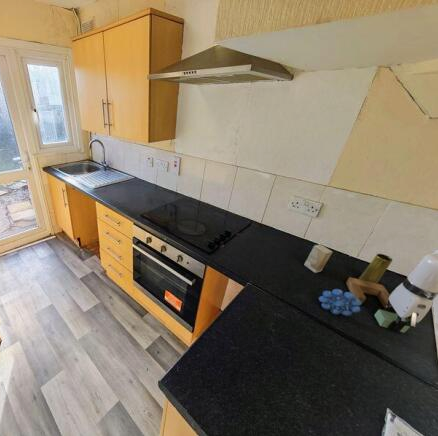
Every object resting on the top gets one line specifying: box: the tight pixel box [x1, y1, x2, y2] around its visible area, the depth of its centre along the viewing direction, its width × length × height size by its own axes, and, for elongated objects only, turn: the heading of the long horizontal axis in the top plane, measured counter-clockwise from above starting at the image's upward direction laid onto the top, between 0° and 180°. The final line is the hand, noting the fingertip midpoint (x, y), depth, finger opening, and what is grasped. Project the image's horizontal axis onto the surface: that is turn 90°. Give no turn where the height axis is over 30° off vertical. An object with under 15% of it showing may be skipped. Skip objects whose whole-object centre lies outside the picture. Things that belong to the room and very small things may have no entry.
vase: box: [358, 253, 393, 284], centre depth 99 cm, size 6×6×14 cm
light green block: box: [374, 308, 410, 334], centre depth 83 cm, size 7×5×4 cm
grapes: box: [318, 288, 363, 317], centre depth 85 cm, size 12×7×12 cm, turn 46°
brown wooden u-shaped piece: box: [345, 276, 390, 309], centre depth 94 cm, size 12×12×4 cm
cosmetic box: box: [303, 243, 333, 274], centre depth 107 cm, size 6×4×12 cm
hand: (389, 322), depth 84 cm, fingers closed on light green block, 5 cm apart
